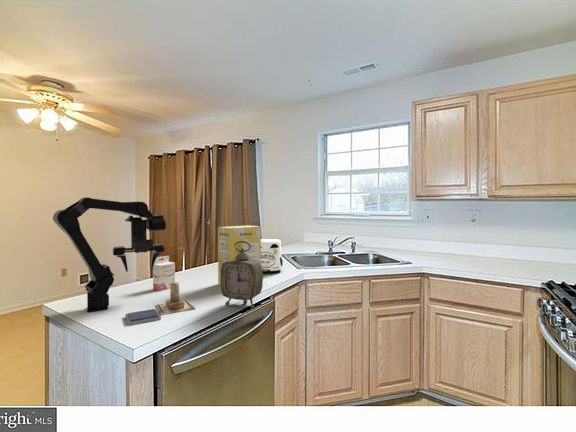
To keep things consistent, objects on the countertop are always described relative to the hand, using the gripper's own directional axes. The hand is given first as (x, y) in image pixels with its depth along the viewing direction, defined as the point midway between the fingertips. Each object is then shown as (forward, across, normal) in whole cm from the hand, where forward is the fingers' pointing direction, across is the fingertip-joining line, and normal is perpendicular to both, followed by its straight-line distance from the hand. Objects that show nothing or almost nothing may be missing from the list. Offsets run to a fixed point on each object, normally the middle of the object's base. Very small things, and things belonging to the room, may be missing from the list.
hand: (139, 270), depth 130 cm
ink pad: (+12, -2, -24) cm, 27 cm away
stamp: (+12, +10, -18) cm, 24 cm away
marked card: (+12, +10, -18) cm, 24 cm away
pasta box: (+12, +46, +4) cm, 48 cm away
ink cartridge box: (+12, +12, +13) cm, 22 cm away
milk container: (+12, +71, +21) cm, 75 cm away
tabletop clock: (+12, +33, -29) cm, 46 cm away
